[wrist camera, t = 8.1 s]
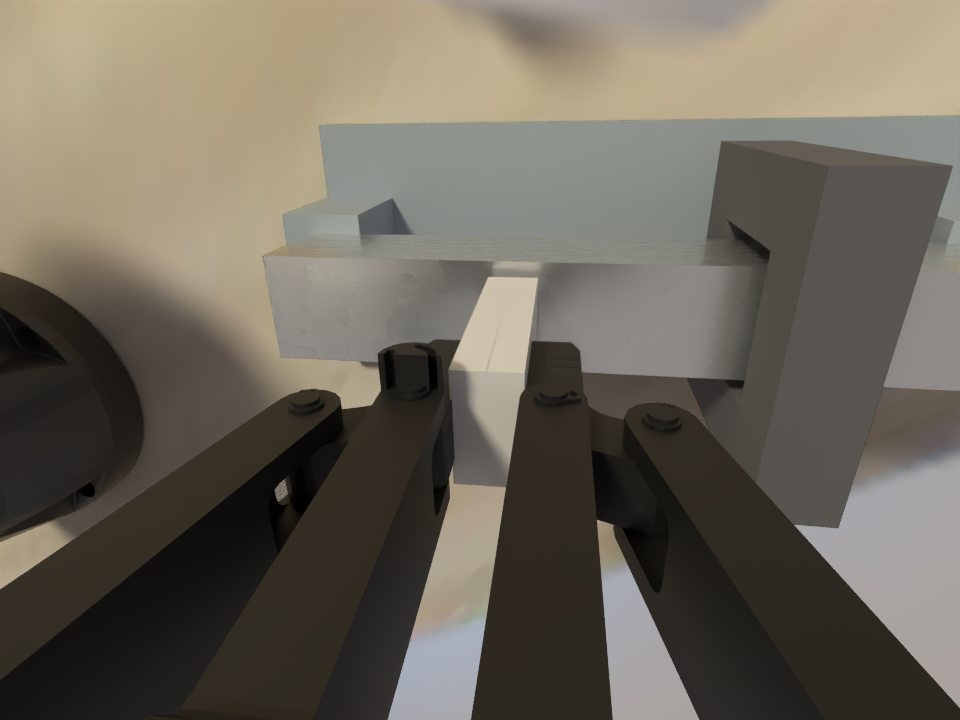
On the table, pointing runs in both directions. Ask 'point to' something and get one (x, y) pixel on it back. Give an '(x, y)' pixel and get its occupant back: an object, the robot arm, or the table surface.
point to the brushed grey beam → (576, 300)
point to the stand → (576, 174)
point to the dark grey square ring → (817, 309)
